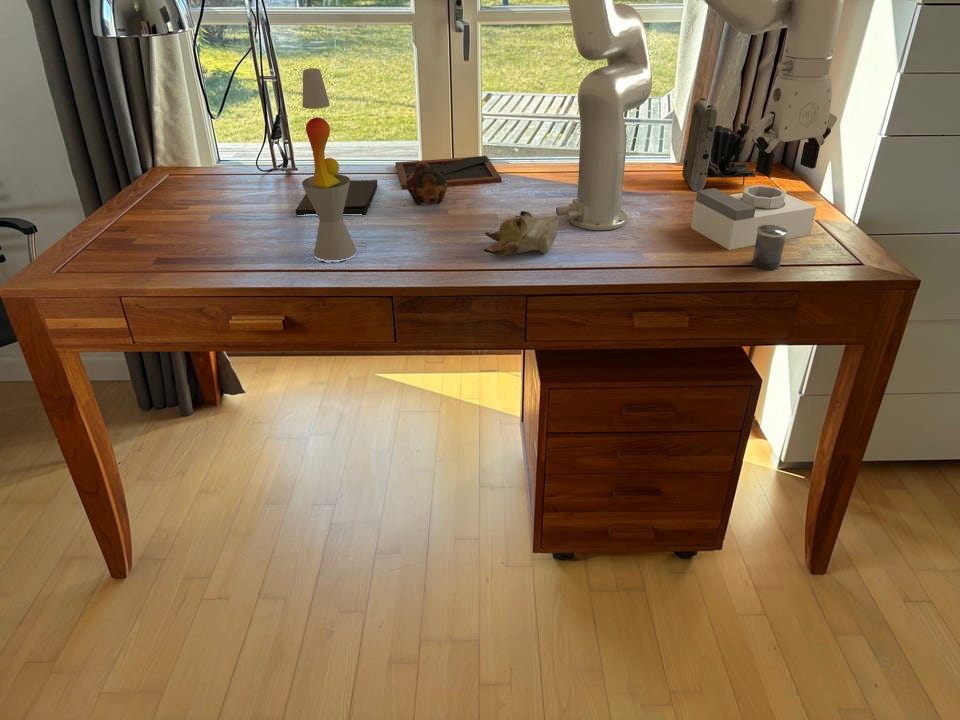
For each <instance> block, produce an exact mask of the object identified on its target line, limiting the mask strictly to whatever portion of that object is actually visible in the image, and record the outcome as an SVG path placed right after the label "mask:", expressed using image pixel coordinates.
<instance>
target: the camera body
mask: <svg viewBox="0 0 960 720" xmlns="http://www.w3.org/2000/svg"><path fill="white" fill-rule="evenodd" d="M816 212H817V206H814V205H813V204H812V203H811V204H810V203H808V202H806V201H804V200H803V199H802V200H801V199H799V198H797V197H794V196H792V195H790V194H788V193H787V192H786V191H785V190H783V189H780V188H778V187H776V186H769V185H757V184H756V185H752V186H745V187H744V189H743V192H741V193H734V194H728V193H726V192H724V191H722V190H719V189H718V188H715V187H713V188H707V189H702V190H700V191H696V197H695V200H694V201H693V210H692V217H691V218H692V219H691V224H690V228H691V229H692V230H694V231H696V232H697V233H699V234H701V235H702V236H704V237H705V238H708V239H709V240H711V241H713V242H715V243H716V244H718V245H720V246H721V247H723V248H725V249H726V250H727V251H728V250H729V251H732V250H736V249H742V248H746V247H747V248H749V247H752V246H753V247H754V246H755V242H756V237H757V228H758V227H759V226H761V225H777V226H781V227H783V228H785V229H786V230H787V235H786V237H785V241H787V240H791V239H795V238H796V239H797V238H802V237H807V236H811V233H812V229H813V224H814V220H815V216H816Z"/></svg>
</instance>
